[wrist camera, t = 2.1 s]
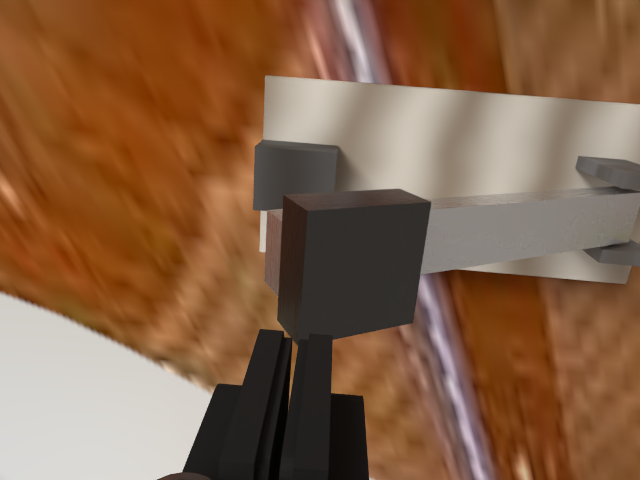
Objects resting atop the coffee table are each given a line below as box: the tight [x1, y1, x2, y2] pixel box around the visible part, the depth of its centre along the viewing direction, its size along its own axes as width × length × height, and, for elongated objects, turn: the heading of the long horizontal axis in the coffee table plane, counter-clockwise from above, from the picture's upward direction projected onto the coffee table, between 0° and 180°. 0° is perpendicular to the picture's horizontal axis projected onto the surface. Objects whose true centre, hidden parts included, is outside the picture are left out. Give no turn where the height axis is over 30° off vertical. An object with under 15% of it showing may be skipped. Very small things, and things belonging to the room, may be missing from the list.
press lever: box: [264, 186, 640, 345], centre depth 23 cm, size 22×5×4 cm
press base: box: [253, 75, 640, 284], centre depth 31 cm, size 26×12×8 cm, turn 86°
